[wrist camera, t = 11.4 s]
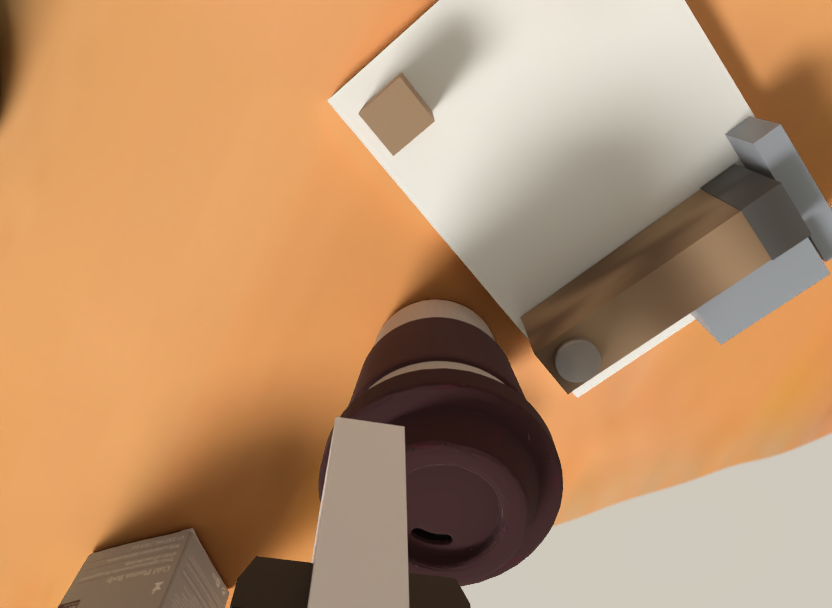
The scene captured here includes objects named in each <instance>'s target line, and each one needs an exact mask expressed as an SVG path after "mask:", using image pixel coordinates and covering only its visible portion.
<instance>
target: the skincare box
mask: <svg viewBox="0 0 832 608" xmlns="http://www.w3.org/2000/svg"><path fill="white" fill-rule="evenodd" d="M228 596H229V591H228V590H227V588H226V586H225V584H224V582H223V580H222V579H221V577H220V575H219V574H218V572H217V571H216V569H215V567H214V566H213V564H212V562H211V561H210V559H209V557H208V555H207V553H206V551H205V550H204V548H203V546H202V545H201V543H200V541H199V539H198V537H197V535H196V533H195V531H194V529H193V528H189V529H185V530H182V531H180V532H177V533H173V534H168V535H164V536H159V537H154V538H150V539H145V540H141V541H137V542H133V543H129V544H125V545H121V546H117V547H113V548H110V549H106V550H103V551H99V552H96V553H92V554H90V555H89V556H88V558H87V559H86V561H85V563H84V564H83V566H82V568H81V569H80V571H79V573H78V574H77V576H76V578H75V579H74V581H73V583H72V585H71V586H70V588H69V590H68V591H67V593H66V595H65V596H64V598H63V600H62V601H61V603H60V605H59V606H58V608H225V605H226V602H227V599H228Z"/></svg>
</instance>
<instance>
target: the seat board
mask: <svg viewBox="0 0 832 608" xmlns="http://www.w3.org/2000/svg"><path fill="white" fill-rule="evenodd" d="M328 102H329V103H330V105H331V106H332V107H333V108H334V109H335V111H336V112H337V113H338V114H339V115H340V117H341V118H342V119H343V120H344V121H345V123H346V124H347V125H348V126H349V127H350V128H351V130H352V131H353V132H354V133H355V134H356V136H357V137H358V138H359V139H360V140H361V142H362V143H363V144H364V145H365V146H366V147H367V149H368V150H369V151H370V152H371V153H372V155H373V156H374V157H375V158H376V159H377V161H378V162H379V163H380V164H381V165H382V166H383V168H384V169H385V170H386V171H387V172H388V174H389V175H390V176H391V177H392V178H393V180H394V181H395V182H396V183H397V184H398V186H399V187H400V188H401V189H402V190H403V191H404V193H405V194H406V195H407V196H408V197H409V199H410V200H411V201H412V202H413V203H414V205H415V206H416V207H417V208H418V209H419V210H420V212H421V213H422V214H423V215H424V216H425V218H426V219H427V220H428V221H429V222H430V224H431V225H432V226H433V227H434V228H435V229H436V231H437V232H438V233H439V234H440V235H441V237H442V238H443V239H444V240H445V241H446V243H447V244H448V245H449V246H450V247H451V249H452V250H453V251H454V252H455V253H456V254H457V256H458V257H459V258H460V259H461V260H462V262H463V263H464V264H465V265H466V266H467V268H468V269H469V270H470V271H471V272H472V273H473V275H474V276H475V277H476V278H477V279H478V281H479V282H480V283H481V284H482V285H483V287H484V288H485V289H486V290H487V291H488V292H489V294H490V295H491V296H492V297H493V298H494V300H495V301H496V302H497V303H498V304H499V306H500V307H501V308H502V309H503V310H504V312H505V313H506V314H507V315H508V316H509V317H510V319H511V320H512V321H513V322H514V323H515V325H516V326H517V327H518V328H519V329H520V331H521V332H522V333H523V334H524V335H525V336H526V338H527V339H528V336H527V333H526V331H525V328H524V325H523V323H522V320H521V318H520V317H521V316H523V315H524V314H525V313H527V312H528V311H530V310H531V309H533V308H534V307H535V306H537V305H538V304H540V303H541V302H542V301H544V300H545V299H547V298H548V297H549V296H551V295H552V294H554V293H555V292H556V291H558V290H559V289H561V288H562V287H563V286H565V285H566V284H568V283H569V282H571V281H572V280H573V279H575V278H576V277H578V276H579V275H580V274H582V273H583V272H585V271H586V270H587V269H589V268H590V267H592V266H593V265H594V264H596V263H597V262H599V261H600V260H602V259H603V258H604V257H606V256H607V255H609V254H610V253H611V252H613V251H614V250H616V249H617V248H618V247H620V246H621V245H623V244H624V243H625V242H627V241H628V240H630V239H631V238H633V237H634V236H635V235H637V234H638V233H640V232H641V231H642V230H644V229H645V228H647V227H648V226H649V225H651V224H652V223H654V222H655V221H656V220H658V219H659V218H661V217H662V216H663V215H665V214H666V213H668V212H669V211H671V210H672V209H673V208H675V207H676V206H678V205H679V204H680V203H682V202H683V201H685V200H686V199H687V198H689V197H690V196H692V195H693V194H694V193H696V192H697V191H699V190H700V188H701V187H702V186H704V185H705V184H706V183H708V182H709V181H711V180H712V179H713V178H715V177H716V176H718V175H719V174H720V173H722V172H723V171H725V170H726V169H727V168H729V167H730V166H732V165H733V164H737V165H739V166H741V167H744V168H746V169H749V170H751V171H754V172H756V173H759V174H761V175H763V176H766V177H768V178H771V179H773V180H776V181H778V182H781V183H782V185H783V187H784V188H785V190H786V192H787V193H788V195H789V197H790V198H791V200H792V202H793V203H794V205H795V207H796V208H797V210H798V212H799V213H800V215H801V217H802V218H803V220H804V222H805V223H806V225H807V227H808V229H809V230H810V232H811V234H812V235H811V236H809V237H808V238H806V239H805V240H803V241H802V242H800V243H798V244H797V245H795V246H794V247H792V248H791V249H789V250H788V251H786V252H785V253H783V254H782V255H780V256H779V257H777V258H776V259H774V260H770V261H768V262H767V263H765V264H764V265H762V266H761V267H759V268H758V269H756V270H755V271H753V272H752V273H750V274H749V275H747V276H746V277H744V278H743V279H741V280H740V281H738V282H737V283H735V284H734V285H732V286H731V287H729V288H728V289H726V290H725V291H723V292H722V293H720V294H719V295H717V296H716V297H714V298H713V299H711V300H710V301H708V302H707V303H705V304H703V305H702V306H700V307H699V308H697V309H696V310H694V311H693V312H691V313H690V314H688V315H687V316H685V317H684V318H682V319H681V320H679V321H678V322H676V323H675V324H673V325H672V326H670V327H669V328H667V329H666V330H664V331H663V332H661V333H660V334H658V335H657V336H655V337H654V338H652V339H651V340H649V341H648V342H646V343H645V344H643V345H641V346H640V347H638V348H637V349H635V350H634V351H632V352H631V353H629V354H628V355H626V356H625V357H623V358H622V359H620V360H619V361H617V362H616V363H614V364H613V365H611V366H610V367H608V368H607V369H605V370H604V371H602V372H601V373H599V374H598V375H596V376H595V377H593V378H592V379H590V380H589V381H587V382H586V383H584V384H583V385H581V386H580V387H578V388H576V389H575V390H573V391H572V392H573V394H574V395H575V396H576V397H577V398H578V397H579V396H581V395H582V394H584V393H585V392H587V391H588V390H590V389H591V388H593V387H594V386H596V385H597V384H599V383H600V382H602V381H603V380H605V379H606V378H608V377H609V376H611V375H612V374H614V373H615V372H617V371H618V370H620V369H621V368H623V367H624V366H626V365H627V364H629V363H630V362H632V361H633V360H635V359H636V358H638V357H639V356H641V355H642V354H644V353H645V352H647V351H648V350H650V349H651V348H653V347H654V346H656V345H657V344H659V343H660V342H662V341H663V340H665V339H666V338H668V337H669V336H671V335H672V334H674V333H675V332H677V331H678V330H680V329H681V328H683V327H684V326H686V325H687V324H689V323H690V322H692V321H693V320H695V319H696V320H697V321H698V322H699V323H700V324H701V325H702V326H703V327H704V328H705V329H706V330H707V331H708V332H709V333H710V334H711V335H712V336H713V337H714V338H715V339H716V340H717V341H718V342H719V343H720V344H723V343H724V342H726V341H727V340H729V339H731V338H732V337H734V336H735V335H737V334H738V333H740V332H741V331H743V330H744V329H746V328H748V327H749V326H751V325H752V324H754V323H755V322H757V321H758V320H760V319H761V318H763V317H764V316H766V315H768V314H769V313H771V312H772V311H774V310H775V309H777V308H778V307H780V306H781V305H783V304H784V303H786V302H788V301H789V300H791V299H792V298H794V297H795V296H797V295H798V294H800V293H801V292H803V291H805V290H806V289H808V288H809V287H811V286H812V285H814V284H815V283H817V282H818V281H820V280H821V279H823V278H825V277H826V276H828V275H829V274H830V272H829V271H828V269H827V267H826V266H825V264H824V262H823V261H825V262H827V261H828V260H830V259H831V258H832V210H831V208H830V206H829V205H828V203H827V201H826V200H825V198H824V196H823V195H822V193H821V191H820V190H819V188H818V186H817V184H816V183H815V181H814V179H813V178H812V176H811V174H810V173H809V171H808V169H807V168H806V166H805V164H804V163H803V161H802V159H801V157H800V156H799V154H798V152H797V151H796V149H795V147H794V146H793V144H792V142H791V141H790V139H789V137H788V135H787V134H786V132H785V130H784V129H783V127H782V125H781V124H779V123H775V122H771V121H767V120H763V119H759V118H755V116H754V114H753V113H752V111H751V109H750V108H749V106H748V104H747V103H746V101H745V99H744V98H743V96H742V94H741V93H740V91H739V89H738V88H737V86H736V84H735V83H734V81H733V79H732V78H731V76H730V74H729V73H728V71H727V69H726V68H725V66H724V65H723V63H722V61H721V60H720V58H719V56H718V55H717V53H716V51H715V50H714V48H713V46H712V45H711V43H710V41H709V40H708V38H707V36H706V35H705V33H704V31H703V30H702V28H701V26H700V25H699V23H698V21H697V20H696V18H695V17H694V15H693V13H692V12H691V10H690V8H689V7H688V5H687V3H686V2H685V0H439V1H438V2H437V3H436V4H434V5H433V6H432V7H431V8H430V9H429V10H428V11H427V12H426V13H424V14H423V15H422V16H421V17H420V18H419V19H418V20H417V21H415V22H414V23H413V24H412V25H411V26H410V27H409V28H408V29H407V30H405V31H404V32H403V33H402V34H401V35H400V36H399V37H398V38H397V39H395V40H394V41H393V42H392V43H391V44H390V45H389V46H388V47H387V48H385V49H384V50H383V51H382V52H381V53H380V54H379V55H378V56H377V57H375V58H374V59H373V60H372V61H371V62H370V63H369V64H368V65H366V66H365V67H364V68H363V69H362V70H361V71H360V72H359V73H358V74H356V75H355V76H354V77H353V78H352V79H351V80H350V81H349V82H348V83H346V84H345V85H344V86H343V87H342V88H341V89H340V90H339V91H338V92H336V93H335V94H334V95H333V96H332V97H331V98H330V99H329V100H328ZM822 260H823V261H822ZM528 340H529V339H528Z"/></svg>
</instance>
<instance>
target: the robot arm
mask: <svg viewBox="0 0 832 608" xmlns="http://www.w3.org/2000/svg"><path fill="white" fill-rule="evenodd" d="M230 608H470V603H469V601H468V599H467V598H466V596H465V594H464V592H463V591H462V589H461V587H460V585H459V583H458V582H457V580H456V578H449V577H440V576H432V575H424V574H415V573H408V540H407V502H406V464H405V427H404V426H397V425H390V424H383V423H376V422H369V421H362V420H355V419H348V418H341V417H335V423H334V429H333V435H332V441H331V446H330V452H329V458H328V464H327V470H326V476H325V482H324V488H323V494H322V500H321V505H320V511H319V517H318V524H317V531H316V538H315V544H314V551H313V558H312V563H308V562H300V561H291V560H283V559H275V558H266V557H258V556H256V557H255V559H254V560H253V561H252V562H251V563H250V565H249V566H248V567H247V568H246V569H245V571H244V572H243V573H242V574H241V575H240V577H239V578H238V579H237V583H236V587H235V590H234V594H233V598H232V601H231V605H230Z"/></svg>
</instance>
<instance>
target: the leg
mask: <svg viewBox="0 0 832 608" xmlns="http://www.w3.org/2000/svg"><path fill="white" fill-rule="evenodd" d="M811 235H812V234H811V232H810V230H809V229H808V227H807V225H806V223H805V222H804V220H803V218H802V217H801V215H800V213H799V212H798V210H797V208H796V207H795V205H794V203H793V202H792V200H791V198H790V197H789V195H788V193H787V192H786V190H785V188H784V187H783V185H782V183H781V182H778V181H776V180H773V179H771V178H768V177H766V176H763V175H761V174H759V173H756V172H754V171H751V170H749V169H746V168H744V167H741V166H739V165H737V164H733V165H732V166H730V167H729V168H727V169H726V170H725V171H723V172H722V173H720V174H719V175H718V176H716V177H715V178H713V179H712V180H711V181H709V182H708V183H706V184H705V185H704V186H702V187H701V188H700V190H699V191H697V192H696V193H694V194H693V195H692V196H690V197H689V198H687V199H686V200H685V201H683V202H682V203H680V204H679V205H678V206H676V207H675V208H673V209H672V210H671V211H669V212H668V213H666V214H665V215H663V216H662V217H661V218H659V219H658V220H656V221H655V222H654V223H652V224H651V225H649V226H648V227H647V228H645V229H644V230H642V231H641V232H640V233H638V234H637V235H635V236H634V237H633V238H631V239H630V240H628V241H627V242H625V243H624V244H623V245H621V246H620V247H618V248H617V249H616V250H614V251H613V252H611V253H610V254H609V255H607V256H606V257H604V258H603V259H602V260H600V261H599V262H597V263H596V264H594V265H593V266H592V267H590V268H589V269H587V270H586V271H585V272H583V273H582V274H580V275H579V276H578V277H576V278H575V279H573V280H572V281H571V282H569V283H568V284H566V285H565V286H563V287H562V288H561V289H559V290H558V291H556V292H555V293H554V294H552V295H551V296H549V297H548V298H547V299H545V300H544V301H542V302H541V303H540V304H538V305H537V306H535V307H534V308H533V309H531V310H530V311H528V312H527V313H525V314H524V315H523V316H521V317H520V318H521V320H522V323H523V325H524V328H525V331H526V333H527V336H528V339H529V341H530V344H531V347H532V349H533V352H534V354H535V355H536V356H537V358H538V359H539V360H540V361H541V362H542V364H543V365H544V366H545V367H546V368H547V370H548V371H549V372H550V373H551V374H552V376H553V377H554V378H555V379H556V381H557V382H558V383H559V384H560V385H561V387H562V388H563V389H564V390H565V391H566V393H567V394H569V393H570V392H572V391H573V390H575V389H576V388H578V387H580V386H581V385H583V384H584V383H586V382H587V381H589V380H590V379H592V378H593V377H595V376H596V375H598V374H599V373H601V372H602V371H604V370H605V369H607V368H608V367H610V366H611V365H613V364H614V363H616V362H617V361H619V360H620V359H622V358H623V357H625V356H626V355H628V354H629V353H631V352H632V351H634V350H635V349H637V348H638V347H640V346H641V345H643V344H645V343H646V342H648V341H649V340H651V339H652V338H654V337H655V336H657V335H658V334H660V333H661V332H663V331H664V330H666V329H667V328H669V327H670V326H672V325H673V324H675V323H676V322H678V321H679V320H681V319H682V318H684V317H685V316H687V315H688V314H690V313H691V312H693V311H694V310H696V309H697V308H699V307H700V306H702V305H703V304H705V303H707V302H708V301H710V300H711V299H713V298H714V297H716V296H717V295H719V294H720V293H722V292H723V291H725V290H726V289H728V288H729V287H731V286H732V285H734V284H735V283H737V282H738V281H740V280H741V279H743V278H744V277H746V276H747V275H749V274H750V273H752V272H753V271H755V270H756V269H758V268H759V267H761V266H762V265H764V264H765V263H767V262H768V261H770V260H774V259H776V258H777V257H779V256H780V255H782V254H783V253H785V252H786V251H788V250H789V249H791V248H792V247H794V246H795V245H797V244H798V243H800V242H802V241H803V240H805V239H806V238H808V237H809V236H811Z"/></svg>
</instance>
